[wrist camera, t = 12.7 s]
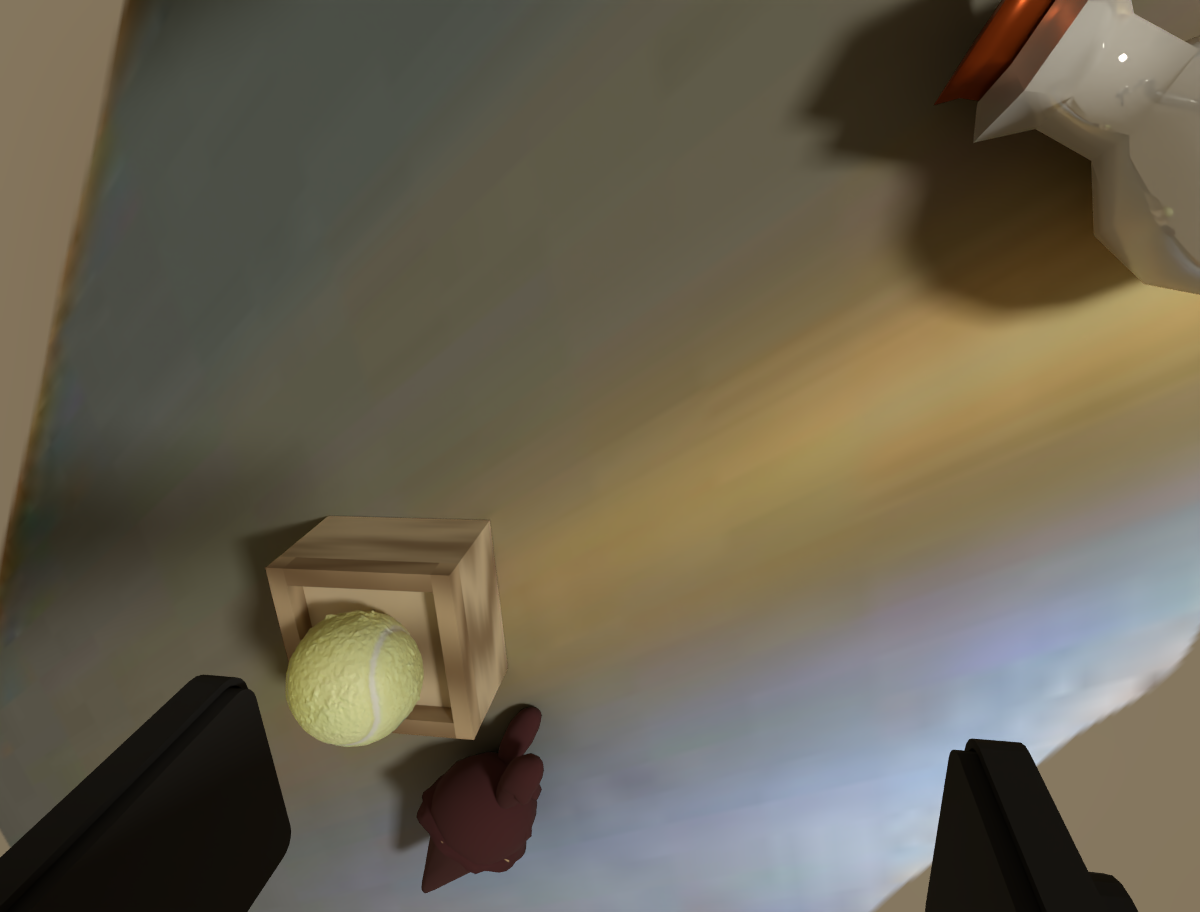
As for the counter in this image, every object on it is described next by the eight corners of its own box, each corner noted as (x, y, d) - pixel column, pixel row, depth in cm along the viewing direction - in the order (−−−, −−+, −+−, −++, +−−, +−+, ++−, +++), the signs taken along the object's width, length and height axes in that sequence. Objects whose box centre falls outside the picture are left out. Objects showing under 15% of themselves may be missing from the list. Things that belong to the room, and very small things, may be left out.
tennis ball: (281, 783, 35) (401, 768, 33) (232, 656, 34) (353, 634, 32) (354, 709, 41) (459, 693, 39) (315, 599, 40) (421, 578, 38)
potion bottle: (1248, 257, 31) (943, 83, 33) (1549, 40, 23) (1124, -182, 24) (1236, 398, 27) (879, 189, 28) (1610, 189, 18) (1078, -96, 20)
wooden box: (328, 515, 43) (265, 567, 37) (489, 520, 41) (449, 575, 36) (357, 657, 47) (304, 725, 41) (508, 667, 45) (473, 739, 39)
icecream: (471, 960, 45) (596, 804, 41) (359, 929, 43) (477, 760, 39) (479, 858, 52) (588, 713, 47) (381, 826, 50) (485, 671, 45)
